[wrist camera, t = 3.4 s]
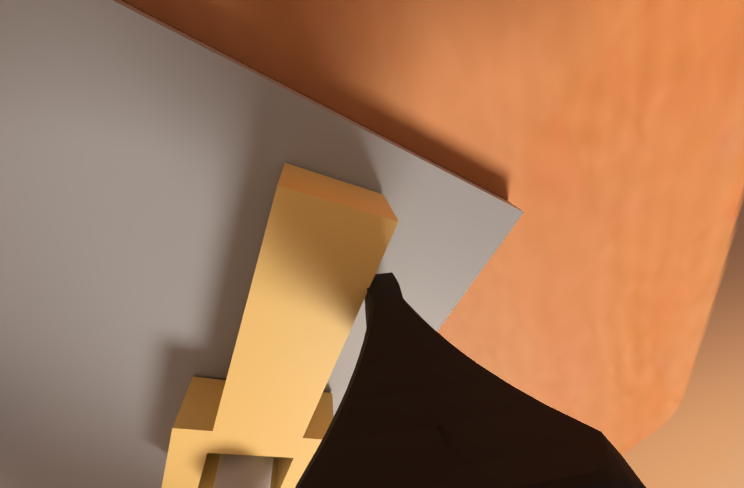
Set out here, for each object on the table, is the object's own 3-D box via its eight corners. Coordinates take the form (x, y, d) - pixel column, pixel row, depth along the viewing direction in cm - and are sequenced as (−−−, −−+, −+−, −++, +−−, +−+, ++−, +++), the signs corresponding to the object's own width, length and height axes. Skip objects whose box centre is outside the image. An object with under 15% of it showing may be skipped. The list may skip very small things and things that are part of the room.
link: (297, 467, 16) (296, 516, 14) (175, 461, 14) (156, 516, 12) (418, 206, 10) (440, 234, 8) (239, 148, 9) (220, 167, 7)
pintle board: (302, 495, 19) (298, 638, 14) (-90, 462, 13) (-314, 680, 9) (508, 201, 12) (639, 291, 7) (-151, -140, 6) (-1721, -845, 1)
